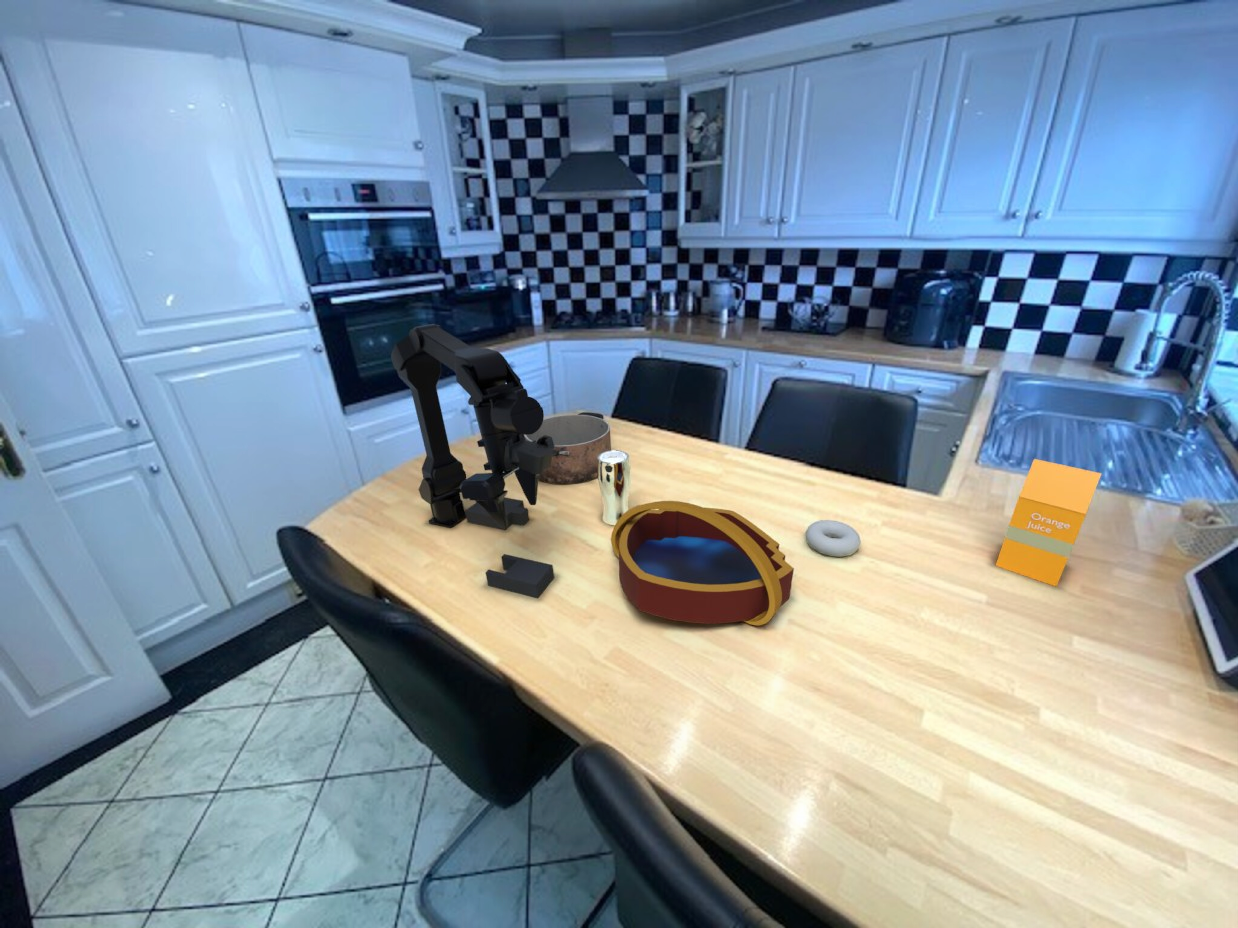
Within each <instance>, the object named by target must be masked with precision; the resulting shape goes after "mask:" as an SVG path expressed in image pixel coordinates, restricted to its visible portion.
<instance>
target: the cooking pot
mask: <svg viewBox="0 0 1238 928" xmlns="http://www.w3.org/2000/svg"><path fill="white" fill-rule="evenodd" d="M544 435H547V436H550V437H552V440H553V443H554V446H555V450H556V454H555V455H554V456H552V462H551V467H550V468H547V469H545V470H544V471H543V473H541V474H539V480H538V481H541V482H544V483H547V484H552V485H577V484H581V483H587V482H589V481H593V480H596V479H598V455H599V454H601V453H603V452H605V451H611V450H612V443H611V441H612V440H611V426H610V424H609V422H608V421H607V420H605V419H604V415H603V414H602V413H598V412H591V411H583V412H579V413H578V414H561V415H556V416H550V417H546V418H543V423H542V425H541V427H540V428H539V429H538V431H536V432H535V433H533V434H530V435H524V437H525V440H526V441H530V442H532V441H533V440H535V441H536V442H537V441H538V439H539V438H540V437H542V436H544Z"/></svg>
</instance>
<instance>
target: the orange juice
mask: <svg viewBox="0 0 1238 928" xmlns="http://www.w3.org/2000/svg"><path fill="white" fill-rule="evenodd" d="M1102 475H1103V474H1102V473H1101V472H1098V471H1097V472H1096V471H1093V470H1087V469H1083V468H1078V467H1074V466H1069V465H1065V464H1060V463H1056V462H1051V461H1047V460H1042V459H1037V458H1034V459H1033V460H1032V463H1031V465H1030V468H1029V471H1028V473H1027V475H1026V478H1025V480H1024V484H1023V486H1022V489H1021V491H1020V493H1019V494H1018V499H1017V500H1016V501H1017V502H1016V504H1015V507H1014V510H1013V513H1012V516H1011V519H1010V522H1009V524H1008V527H1007V530H1006V532H1005V536H1004V539H1003V542H1002V545H1001V548H1000V551H999V555H998V557H997V560H996V562H995V567H998V568H1001V569H1004V570H1007V571H1009V572H1012V573H1016V574H1018V575H1021V576H1024V577H1026V578H1030V579H1033V580H1036V581H1039V582H1040V583H1041V582H1042V583H1045V584H1047V585H1050V586H1054V587H1057V586H1058V583H1059V582H1060V579H1061V576H1062V574H1063V572H1064V570H1065V566H1066V565H1067V562H1068V560H1069V558H1070V556H1071V553H1072V550H1073V548H1074V546H1075V543H1076V540H1077V538H1078V535H1079V534H1080V531H1081V529H1082V526H1083V523H1084V521H1085V518H1086V517H1087V513H1088V511H1089V508H1090V505H1091V502H1092V499H1093V497H1094V495H1095V492H1096V489H1097V487H1098V484H1099V482H1100V479H1101V476H1102Z"/></svg>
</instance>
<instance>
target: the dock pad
mask: <svg viewBox="0 0 1238 928" xmlns="http://www.w3.org/2000/svg"><path fill="white" fill-rule="evenodd" d="M503 500H504V506H505V511H506V516H507V523H508V527H507V528H501V527H500V526H499V525H498V523H497V522H496V521H495V520H494V519H493V518H492V517H491V516H490V515H489V514H488V513H487V511H486V510H485V509H484V508H482V507H481V506H480V505H479V504H478V503H477V502H476V501H475V502H474V503H473V504H472V505H470V507H468V508H467V509H465V510H464V511H465V513H466V517H465V518H466V522H467V523H469V524H474V525H478V526H482V527H483V526H484V527H489V528H493V529H497V530H503V531H506V530H507V529H508V528H509V527H511V526H512V525H517V526H521V527H523V526H525V525H526V524H527V523H528V522H529V521H530V514H529V508H527V507H525V501H524V500H522V499H516V498H511V497H506V496H505V497H504V499H503Z"/></svg>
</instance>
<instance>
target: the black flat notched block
mask: <svg viewBox="0 0 1238 928" xmlns="http://www.w3.org/2000/svg"><path fill="white" fill-rule="evenodd" d="M500 558H501V565H502V569H503V570H504V571H506V572H502V571H498V570H497V571H496V570H493V569H487V571H485V577H486V582H487V586H489V587H492V588H496V589H499V590H503V591H508V592H510V593H511V592H512V593H516V594H520V595H523V596H527V597H532V598H534V599H539V597H540V596H541V595H542V594H543V593H544V591H545V590H546V589H547V587H548V586H549V585H550V584H551V583H552V581H553V580H554V579H555V573H554V565H553V564H551V563H546V562H542V561H538V560H533V559H529V558H524V557H521V556H520V557H518V556H514V555H510V554H506V553H504V554H502V555H501V557H500Z"/></svg>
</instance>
